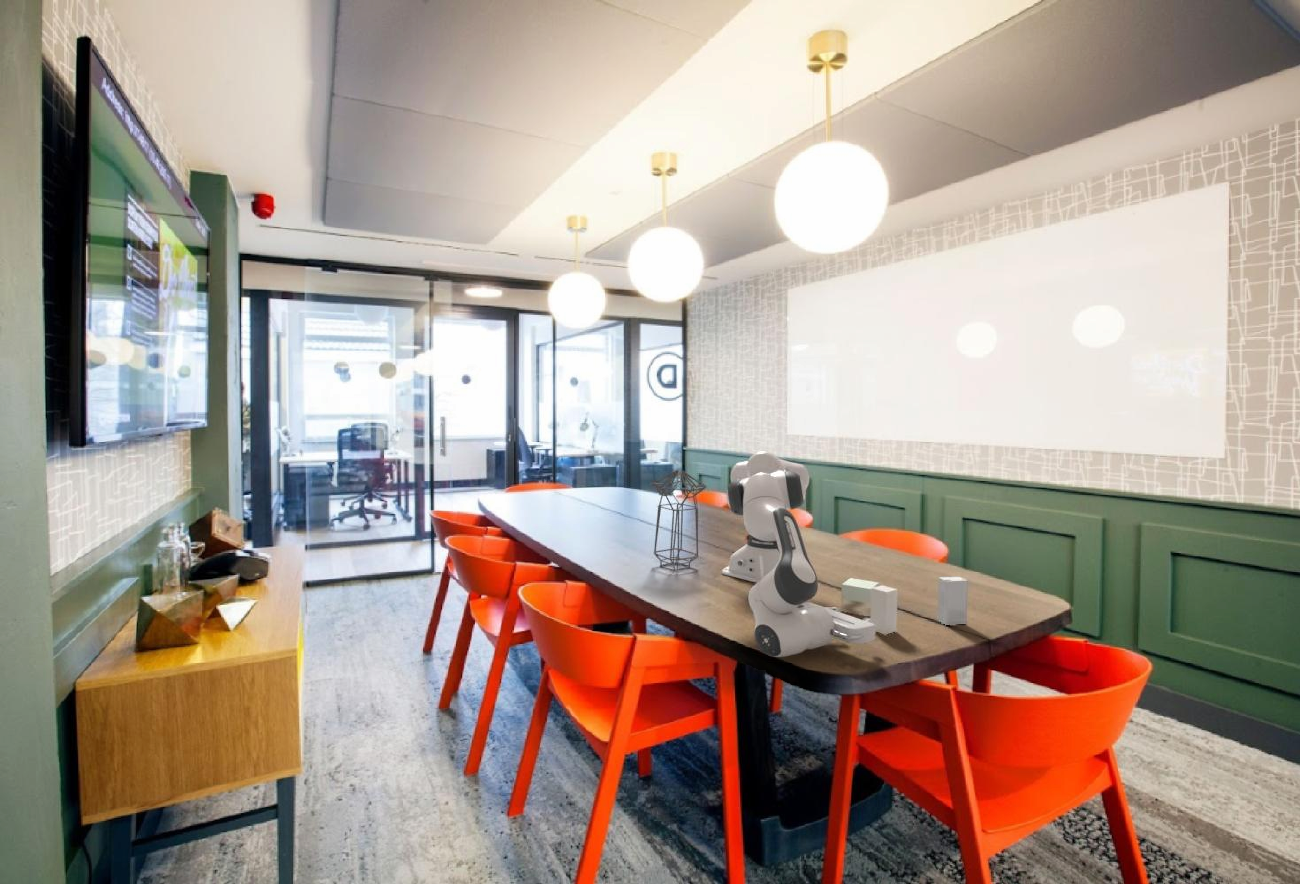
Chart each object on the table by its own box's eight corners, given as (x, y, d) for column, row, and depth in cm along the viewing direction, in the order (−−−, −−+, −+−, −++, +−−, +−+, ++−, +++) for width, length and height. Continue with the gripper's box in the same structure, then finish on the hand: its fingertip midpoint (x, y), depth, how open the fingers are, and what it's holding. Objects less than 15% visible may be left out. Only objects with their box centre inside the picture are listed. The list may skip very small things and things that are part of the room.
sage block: (841, 598, 174) (841, 584, 174) (849, 591, 181) (850, 578, 181) (870, 603, 170) (870, 589, 170) (878, 596, 176) (878, 582, 176)
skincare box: (957, 620, 168) (959, 575, 168) (967, 626, 164) (969, 580, 163) (935, 620, 168) (937, 576, 167) (945, 626, 163) (946, 580, 162)
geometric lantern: (676, 559, 233) (680, 466, 231) (706, 569, 221) (710, 471, 219) (644, 565, 223) (647, 468, 221) (673, 576, 211) (677, 473, 209)
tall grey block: (885, 635, 156) (886, 592, 156) (870, 630, 160) (871, 588, 159) (896, 632, 159) (897, 589, 158) (881, 627, 162) (882, 585, 162)
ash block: (840, 612, 175) (840, 598, 175) (849, 605, 181) (850, 591, 181) (869, 617, 170) (869, 603, 170) (877, 610, 177) (878, 596, 177)
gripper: (852, 626, 136) (891, 615, 143) (783, 602, 152) (821, 593, 160) (852, 655, 136) (890, 642, 144) (782, 627, 153) (820, 617, 161)
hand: (853, 616), depth 152 cm, fingers open, 8 cm apart
